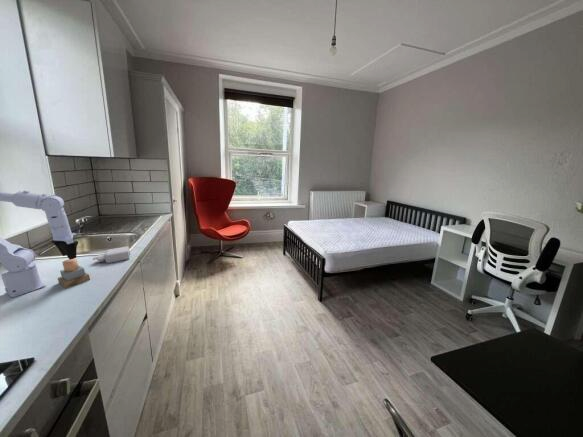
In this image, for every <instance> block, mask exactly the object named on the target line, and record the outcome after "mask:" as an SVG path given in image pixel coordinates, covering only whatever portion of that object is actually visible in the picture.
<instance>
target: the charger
mask: <svg viewBox="0 0 583 437" xmlns="http://www.w3.org/2000/svg"><path fill="white" fill-rule="evenodd" d="M129 247H130V246H128V245H127V246H122V247H115V248H111V249H107V250H106V251H105V253H104V254H98V255H97V257H95V256H94V257H93V258H92V261H95V260H97V262H100V261H105V262H106V263H108V264H110V263H115V262H120V261H121V262H122V261H126V260H130V258H131V255H130V254H131V252H130V251H131V250H130V248H129Z"/></svg>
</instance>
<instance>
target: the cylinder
mask: <svg viewBox="0 0 583 437" xmlns="http://www.w3.org/2000/svg"><path fill="white" fill-rule="evenodd" d="M62 265H63V270H65V272H72V271H75V270H77V269H79V267H78V265H79V263H78V259H77V258H74V259H71V260H70V259H69V258H68V259H66V260H63V261H62Z"/></svg>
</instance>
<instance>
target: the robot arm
mask: <svg viewBox="0 0 583 437" xmlns="http://www.w3.org/2000/svg"><path fill="white" fill-rule="evenodd" d="M0 202H7V203H11V204H13V205H14V206H16V207H17V208H18V207H19V208H25V209H26V208H27V209H36V210H42V211H43V212H44V213H45V217H46V220H47V224H48V226H49V229H50V232H51V235H52V241H51V243H52V244H53V245H54V246H55V247H57V249H58V251H59V253H60V254H61V255H62V256H63V257H65V256H67V258H68V259H70V260H71V259H77V249H78V244H79V241H78V240H75V241H74V236H77V232H76V233H75V232H72V230H71V226H70V224H69V219H68V216H67V214H66V211H65V208H64V206H65V201H64V199H63V198H62V197H60V196H58V195H55V194H51V195H48V194H47V193H42V194H40V193H33V192H31V191H30V190H23V191H18V192H16V193H11V192H7V191H2V190H0ZM36 257H37V254H36V253H35V251H34V250H32V249H30V248H25V247H23V246H21V245H19V244H13V243H12V242H10V241H8V240H6V239H5V238H3V237H2V236H0V265H1V266H2V267H3V269H4V270H5V271H6V272H3V273H1V274H0V276H1V280H2V282H3V286H4V290H5V292H6V293H7V294H8V296H9V297H10V298H15V297H19V296H21V295H25V294H26V293H30V292H32V291H36V290H39V289H42V288H45V287H46V284H45V283H44V282H42V280H41V277H40V274H39V271H38V268H37V265H36V263H35V262H34V260H35V259H36Z"/></svg>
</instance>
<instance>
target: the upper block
mask: <svg viewBox="0 0 583 437" xmlns="http://www.w3.org/2000/svg"><path fill="white" fill-rule="evenodd" d="M78 267H79V269H77V270H75V271H72V272H65V270H64V269H62V270H60V271H59V272H60V277H62V278H64V279H65V280H67V281H69V280H72V279H75V278H78V277H81V276H83V275H86V274H85V273H86V271H85V267H83V266H81V265H79V264H78Z"/></svg>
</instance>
